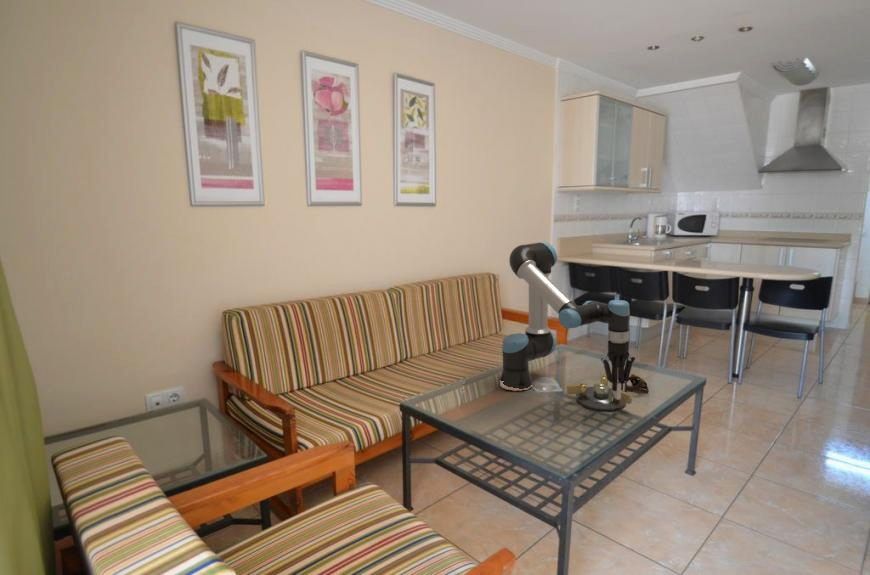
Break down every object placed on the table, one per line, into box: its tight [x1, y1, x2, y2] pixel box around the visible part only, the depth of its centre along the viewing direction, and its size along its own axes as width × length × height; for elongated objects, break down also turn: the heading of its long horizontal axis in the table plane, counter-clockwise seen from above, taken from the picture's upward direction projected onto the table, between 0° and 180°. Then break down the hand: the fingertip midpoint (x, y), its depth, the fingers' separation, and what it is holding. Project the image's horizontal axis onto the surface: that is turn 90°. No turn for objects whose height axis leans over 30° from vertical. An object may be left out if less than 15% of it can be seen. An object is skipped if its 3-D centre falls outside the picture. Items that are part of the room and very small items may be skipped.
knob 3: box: [612, 390, 633, 405], centre depth 190 cm, size 8×3×5 cm, turn 31°
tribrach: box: [575, 382, 627, 412], centre depth 199 cm, size 20×20×7 cm
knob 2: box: [600, 371, 609, 386], centre depth 208 cm, size 8×3×5 cm, turn 151°
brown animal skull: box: [623, 374, 650, 393], centre depth 207 cm, size 12×10×8 cm
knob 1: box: [566, 383, 588, 397], centre depth 199 cm, size 8×3×5 cm, turn 91°
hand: (617, 398), depth 187 cm, fingers closed
